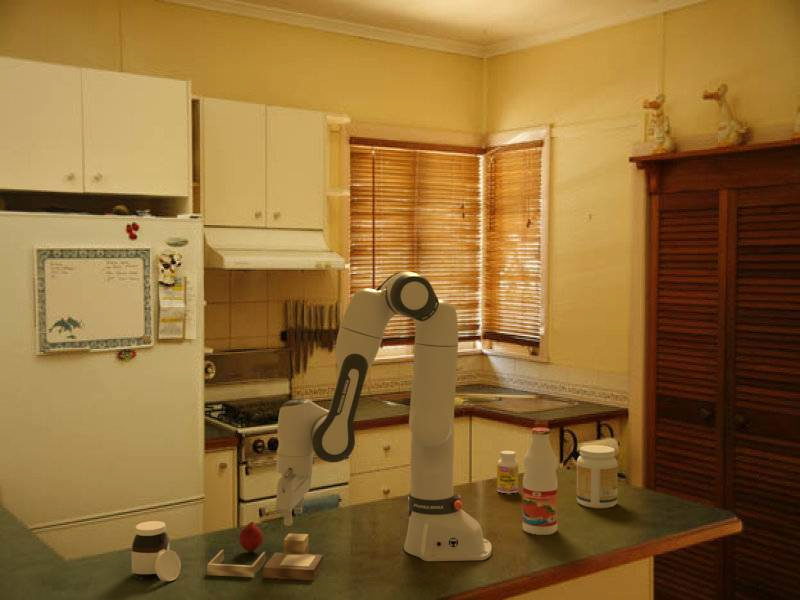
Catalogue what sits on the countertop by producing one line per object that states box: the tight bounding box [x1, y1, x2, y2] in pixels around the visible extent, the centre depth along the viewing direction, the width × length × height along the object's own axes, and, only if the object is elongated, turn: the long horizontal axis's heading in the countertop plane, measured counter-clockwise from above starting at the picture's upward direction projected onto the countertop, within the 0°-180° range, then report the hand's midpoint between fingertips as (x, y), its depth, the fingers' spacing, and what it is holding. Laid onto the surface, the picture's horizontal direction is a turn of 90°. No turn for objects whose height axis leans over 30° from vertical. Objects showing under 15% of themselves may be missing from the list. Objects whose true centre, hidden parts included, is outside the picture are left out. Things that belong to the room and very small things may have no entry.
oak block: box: [283, 533, 309, 554], centre depth 212 cm, size 5×5×5 cm
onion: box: [238, 520, 264, 553], centre depth 214 cm, size 6×6×8 cm
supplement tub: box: [576, 444, 619, 509], centre depth 257 cm, size 12×12×17 cm
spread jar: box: [131, 520, 182, 582], centre depth 198 cm, size 12×11×12 cm
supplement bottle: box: [496, 450, 519, 494], centre depth 270 cm, size 7×7×13 cm
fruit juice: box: [522, 427, 559, 536], centre depth 232 cm, size 9×9×28 cm
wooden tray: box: [206, 549, 324, 582], centre depth 202 cm, size 26×10×3 cm, turn 82°
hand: (293, 518), depth 211 cm, fingers open, 8 cm apart
